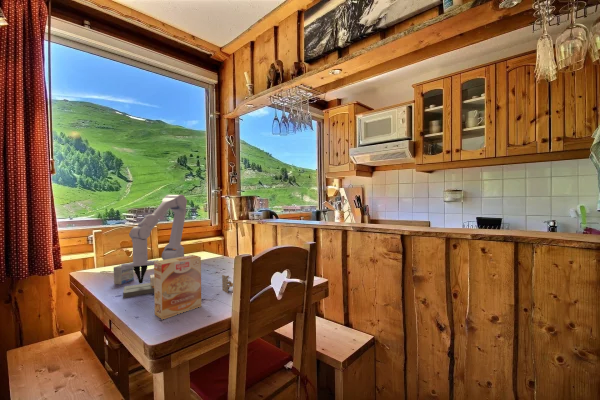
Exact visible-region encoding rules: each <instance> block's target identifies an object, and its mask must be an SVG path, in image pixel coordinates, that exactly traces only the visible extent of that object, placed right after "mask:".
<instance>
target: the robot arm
mask: <svg viewBox="0 0 600 400" xmlns="http://www.w3.org/2000/svg"><path fill="white" fill-rule="evenodd" d="M187 203H188V200H187V198H186V196H185V195H184V194H167V195H165V196H164V197H163V198H162V201H161V203H160V204H159V206H157V207H156V209H155V210H154V211H153V212H152V213H151V214H150V213H149V214H146V215H145V216H144V218H143V219H142V221H141V222H139V223H138V224H137V226H133V227H132V228H131V229H130V231H129V233H128V234H129V238H130V239H131V243H132V262H129V263H123V264H121V269H127V268H134V274H135V275H136V278H137V281H138V284H144V283H143V282H144V277H145V275H146V272H147V270H148V267H151V266H154V261H159V259H157V260H156V259H155V260H153V259H152V260H149V259H148V257H149V256H148V238H149V237H151V234H152V233H151V232H152V230H153V229H154V228H155V227H156V226H157V225H158V223H159V222H160V220H159V219H160V218H161V217H162V216H163V215H164V214H165V213H166V212H167V211H168V210H170V211H172V212H173V213H174V215H173V221H172V225H171V231H170V237H169V241H168V244H166V245H165V246H164V249H163V251H162V252H161V260H166V259H171V258H177V257H183V256H185V247H184V246H183V245H182V244H181V243H182V237H183V232H184V225H185V220H186V215H187Z"/></svg>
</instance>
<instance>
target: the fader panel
mask: <svg viewBox="0 0 600 400" xmlns="http://www.w3.org/2000/svg"><path fill="white" fill-rule="evenodd" d="M149 294H154V286H151V285H150V282H146V283H138V284H132V285H127V286H126V285H125V286H124V288H123V292H122V297H123V298H130V297H136V296H143V295H149Z"/></svg>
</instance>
